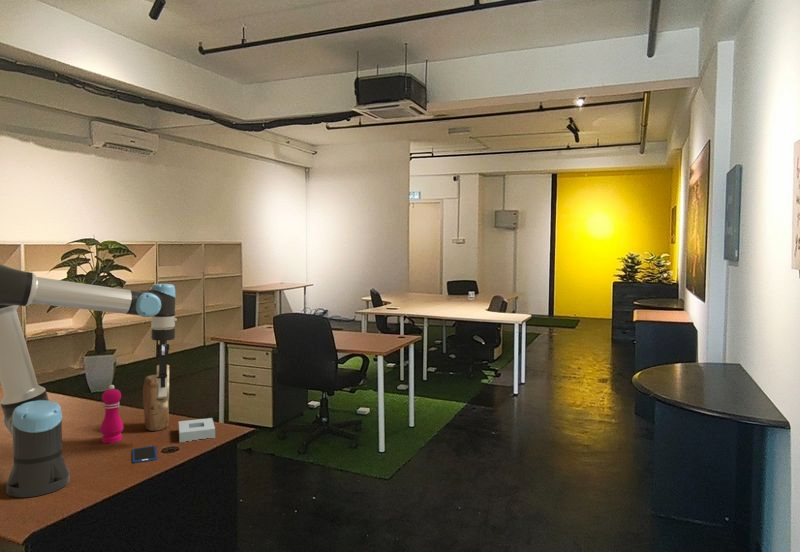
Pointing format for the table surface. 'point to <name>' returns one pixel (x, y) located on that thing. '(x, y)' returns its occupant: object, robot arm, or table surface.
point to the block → (153, 406)
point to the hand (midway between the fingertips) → (162, 394)
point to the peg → (164, 400)
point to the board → (196, 429)
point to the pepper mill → (111, 416)
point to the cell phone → (144, 454)
